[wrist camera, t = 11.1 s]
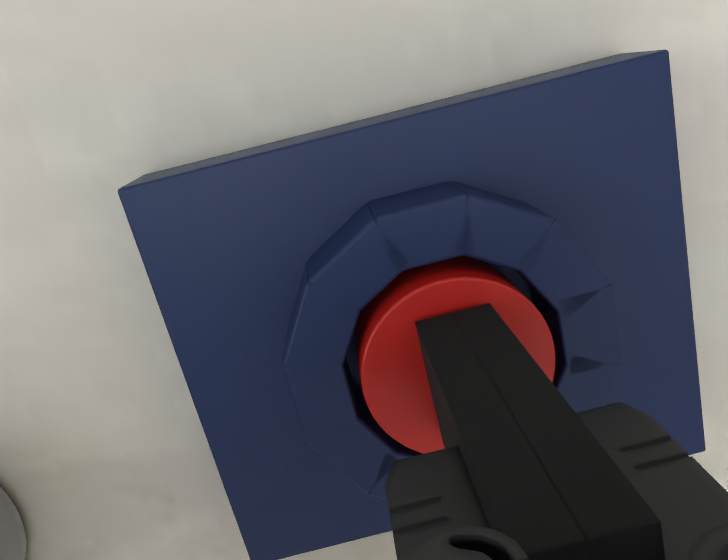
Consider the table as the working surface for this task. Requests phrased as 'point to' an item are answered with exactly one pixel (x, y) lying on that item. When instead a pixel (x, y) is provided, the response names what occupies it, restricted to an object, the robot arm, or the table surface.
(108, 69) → the table surface
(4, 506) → the lotion bottle
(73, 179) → the table surface
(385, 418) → the button
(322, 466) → the button block
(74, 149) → the table surface
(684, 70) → the table surface
